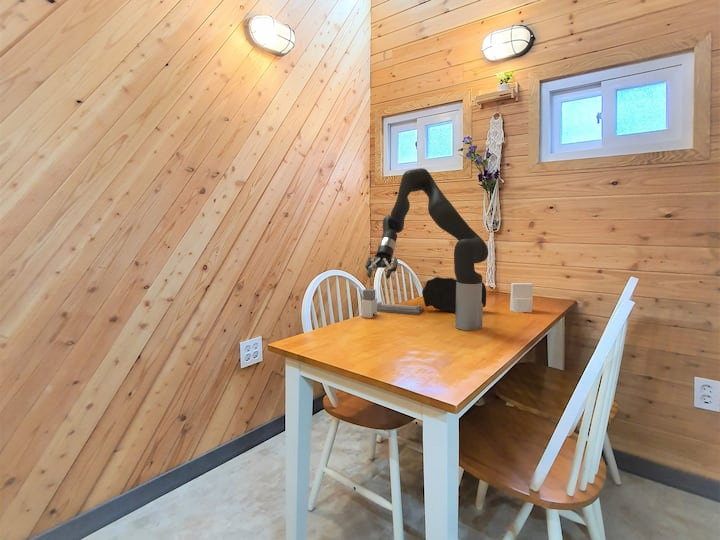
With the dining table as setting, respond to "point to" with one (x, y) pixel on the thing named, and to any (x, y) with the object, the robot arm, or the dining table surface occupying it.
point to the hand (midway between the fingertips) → (378, 277)
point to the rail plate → (399, 308)
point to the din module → (369, 303)
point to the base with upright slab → (521, 297)
